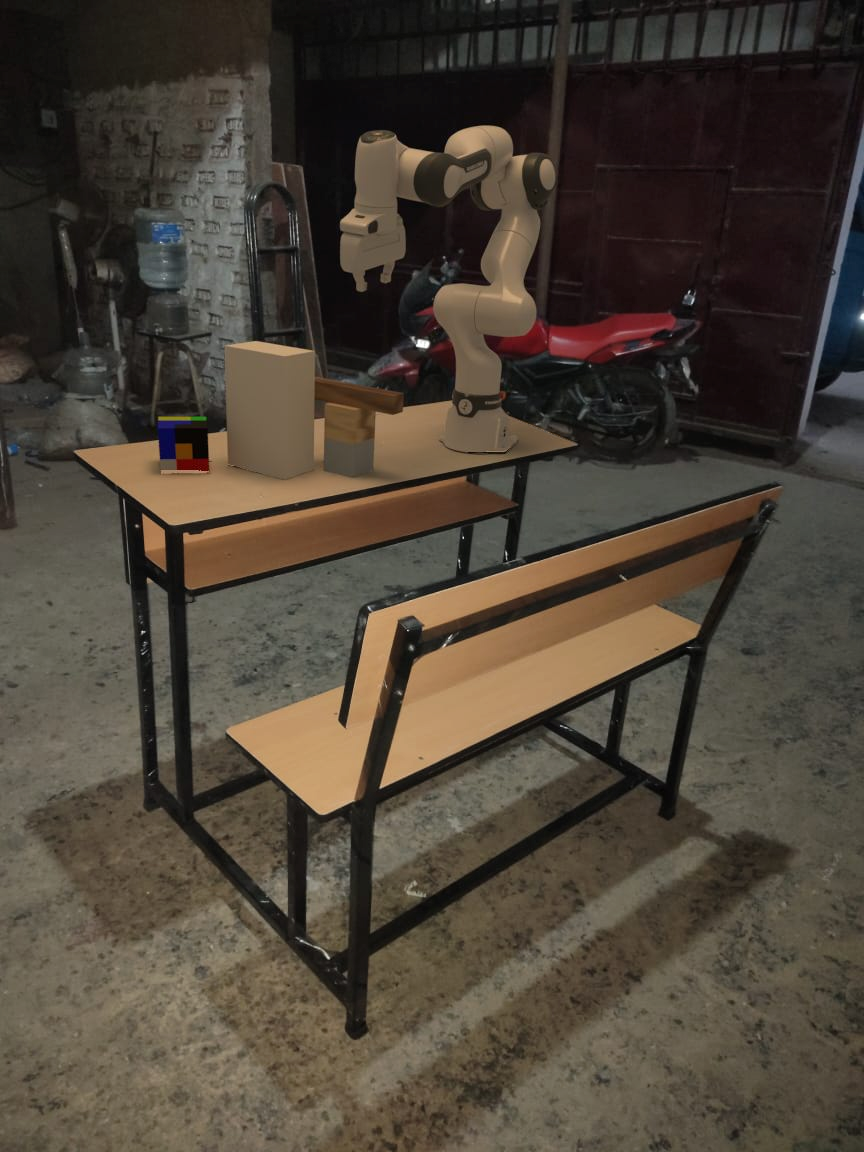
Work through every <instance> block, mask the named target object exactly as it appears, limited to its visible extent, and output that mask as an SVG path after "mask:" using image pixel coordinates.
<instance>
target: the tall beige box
mask: <svg viewBox="0 0 864 1152" xmlns="http://www.w3.org/2000/svg"><path fill="white" fill-rule="evenodd" d="M315 373H316V351H315V350H311V349H305V348H299V347H293V346H287V345H281V344H275V343H270V342H265V341H259V340H254V341H253V340H252V341H247V342H246V341H245V342H240V343H234V344H226V345H224V374H225V377H224V378H225V402H226V404H225V405H226V406H225V407H226V408H225V409H226V437H227V438H226V439H227V441H226V442H227V445H226V446H227V465H228V464H230V465H234V466H237V467H241V468H244V469H248V470H252V471H255V472H254V473H256V472H258V473H257V474H260V473H261V475H264V476H267V477H268V476H269V477H272V478H277V479H279V480H280V479H281V480H285V481H286V480H289V479H291V478H294V477H298V476H300V475H303V474H306V473H308V472H311V471H314V470H315V468H314V466H315V399H314V395H315V377H316V376H315V375H316V374H315ZM244 469H243V470H244ZM248 470H247V471H248ZM252 471H251V472H252Z"/></svg>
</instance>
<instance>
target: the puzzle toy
mask: <svg viewBox="0 0 864 1152" xmlns="http://www.w3.org/2000/svg"><path fill="white" fill-rule="evenodd" d="M157 418H158V419H157V421H158V422H157V434H158V435H157V437H158V453H159V467H160V468H159V469H160V470H199V471H200V470H201V471H209V472H210V456H209V455H210V454H209V433H208V432H209V431H208V429H209V428H208V422H207V416H158V417H157Z"/></svg>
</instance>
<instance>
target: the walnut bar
mask: <svg viewBox="0 0 864 1152" xmlns="http://www.w3.org/2000/svg"><path fill="white" fill-rule="evenodd" d="M404 395H405V393H403V392H399V391H394V390H388V389H384V388H378V387H371V386H366V385H362V384H357V383H353V382H352V383H351V382H345V381H340V380H335V379H330V378H325V377H320V376H319V377H318V376H315V395H314V401H321V402H326V403H335V404H340V405H345V406H350V407H355V408H360V409H365V410H370V411H375V412H376V413H381V414H386V415H391V416H394V415H398V414H400V413H403V412H404V397H405V396H404Z"/></svg>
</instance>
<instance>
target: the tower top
mask: <svg viewBox="0 0 864 1152" xmlns="http://www.w3.org/2000/svg"><path fill="white" fill-rule="evenodd" d="M376 413H377V412H375V411H370V410H365V409H360V408H355V407H350V406H345V405H340V404H335V403H330V402H326V403H325V404H324V422H323V423H324V425H323V426H324V428H323V429H324V430H323V431H324V432H323V433H324V434H323V439H324V438H327V439H332V440H336V441H341V442H345V443H350V444H357V443H360V442H363V441H366V440H369V439H372V438H375V436H376V434H375V433H376Z"/></svg>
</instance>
